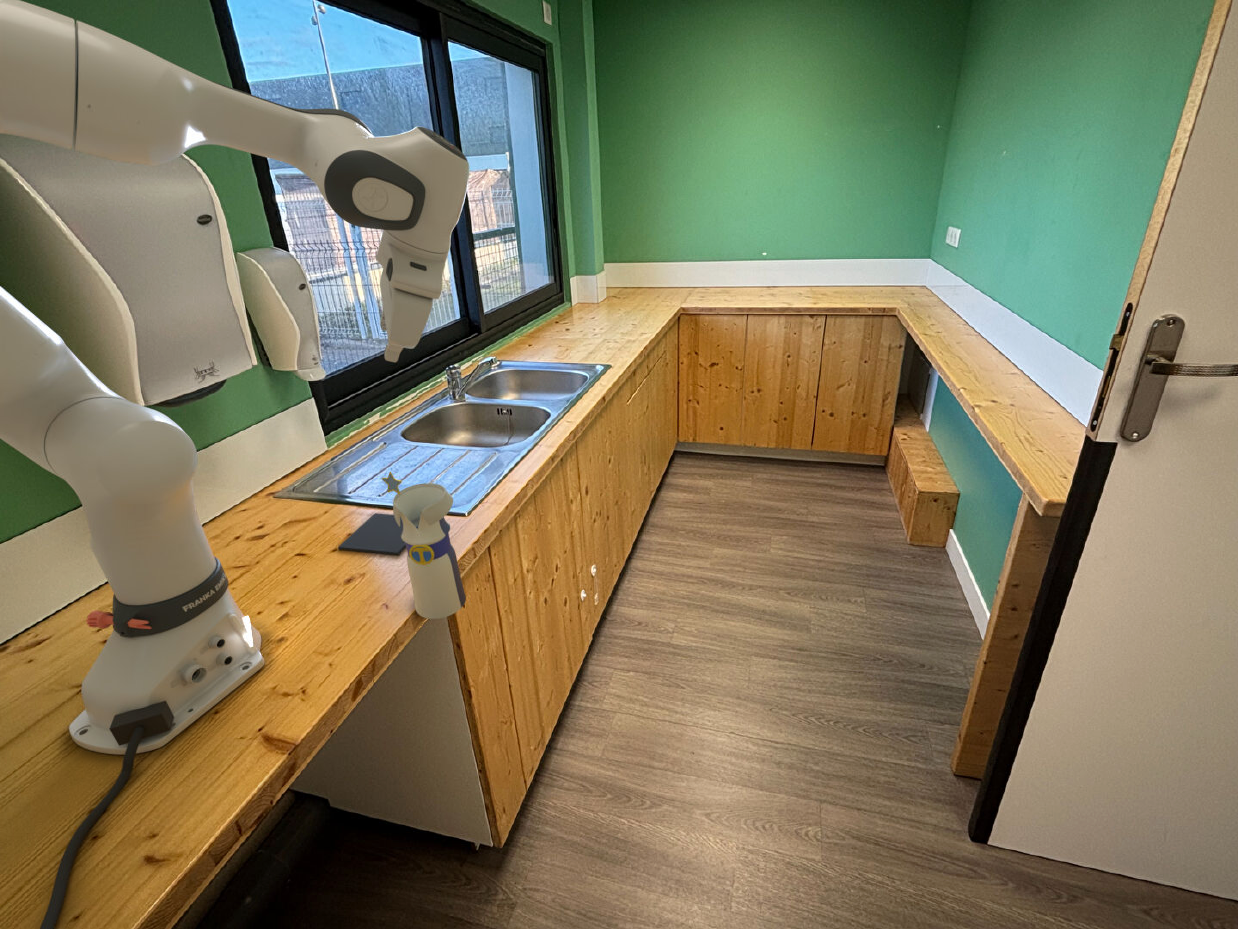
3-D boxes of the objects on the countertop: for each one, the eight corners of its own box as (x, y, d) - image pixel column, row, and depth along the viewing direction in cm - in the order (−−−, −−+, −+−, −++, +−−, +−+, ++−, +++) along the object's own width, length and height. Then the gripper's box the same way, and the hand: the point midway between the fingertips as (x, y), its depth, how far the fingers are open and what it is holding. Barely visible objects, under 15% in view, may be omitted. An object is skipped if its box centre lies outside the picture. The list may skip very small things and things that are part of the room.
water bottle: (463, 619, 90) (435, 472, 79) (407, 621, 91) (370, 474, 80) (474, 585, 98) (450, 446, 87) (422, 587, 98) (391, 448, 87)
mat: (398, 555, 107) (397, 552, 106) (338, 549, 109) (337, 547, 109) (430, 520, 117) (430, 517, 117) (375, 515, 120) (374, 513, 119)
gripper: (383, 223, 89) (362, 306, 96) (394, 280, 75) (368, 373, 81) (426, 237, 92) (403, 317, 99) (444, 294, 78) (416, 383, 85)
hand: (387, 343), depth 90 cm, fingers open, 8 cm apart
